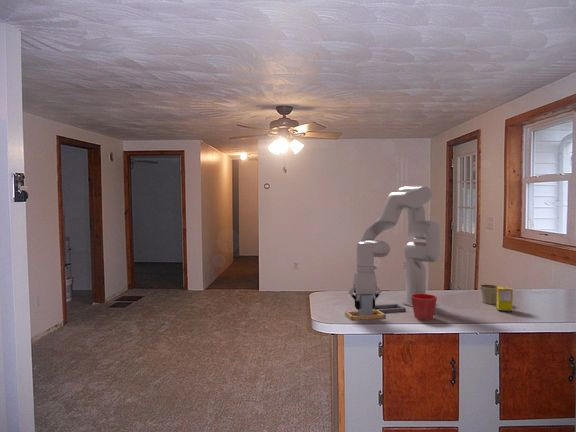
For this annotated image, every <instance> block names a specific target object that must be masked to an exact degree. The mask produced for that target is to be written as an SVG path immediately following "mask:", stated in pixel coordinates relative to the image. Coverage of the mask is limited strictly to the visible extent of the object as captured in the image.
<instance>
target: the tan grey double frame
mask: <svg viewBox="0 0 576 432" xmlns="http://www.w3.org/2000/svg"><path fill="white" fill-rule="evenodd" d="M395 307H396V308H395ZM375 308H378V309H375ZM406 310H407V309H406V307H405V306H403V305H400V304H399V303H391V304H390V303H388V304H375V307H374V309H373V315H360V316H358V315H355V314H358V310H350V311H348V310H347V311H346V310H345V311H344V316H345V317H347V318H348V319H349V320H351V321H355V320H356V321H357V320H358V321H359V320H360V319H361V320H372V319H373V320H375V319H376V318H377V319H386V314H387V313H386V312H388V313H401V312H404V313H405V312H406ZM374 313H377V314H374Z"/></svg>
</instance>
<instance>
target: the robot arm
mask: <svg viewBox="0 0 576 432" xmlns="http://www.w3.org/2000/svg"><path fill="white" fill-rule="evenodd" d="M431 199H432V190H431V188H430V187H429V186H427V185H406V186H402V187H399V188H398V189H397V191H393V192H391V193H389V194H388V195H387V198H386V200H385V203H384V204H383V207H382V209H381V213H380V215H379V217H378V218H377V220H375V221H374V222H373V223H372V224H371V225H370V226H369V227H368V228H366V229H365V231H364V232H363V236H362V237H361V239H360V241H359V242H357V243H356V271H355V272H354V274H353V275H354V276H353V281H352V282H353V283H352V288H351V289H350V290H348V292H347V294H349V296H350V297H352V299H353V300H354V308H355V309H356V311H358V310H359V309H360V301H359V298H360V295H366V294H369V295H373V309H374V307H375V305H376V301H377V299H378V297H379V296H380V295H381V293H383V291H382V290H381V288H379V287H378V286H377V285H378V283H377V282H378V281H377V276H376V272H375V270H377V269H378V268H377V266H375V258H385V257H387V256H388V255H389V253H390V250H391V248H390V247H391V246H390V245H389V243H388V242H386V241H383V240H376V238H377V237H378V236H379V235H380V234H381V233H384V232H385V231H387V230H388V231H389V230H390V229H392V228H394V227H396V225H397V224H398V221H399V218H400V216H401V213H402V211H403V210H406V211H407V235H408V237H409V238H411V239H414V240H424V241H425V242H424V241H414V240H413V241H409V242H407V243H406V244H405V245H404V249H403V252H404V259H405V299H402V303H403V304H404V305H406V306H409V307H410V306H411V307H413V305H412V299H411V295H413V294H426V287H427V285H426V283H427V281H426V278H427V277H426V274H427V271H426V265H425V264H424V262H425V263H436V262H437V261H438V260H439V258H440V255H441V254H440V253H441V229H440V228H441V227H440V225H439V224H438V222H437V221H434V220H426V209H425V206H424V205H426V204H427V203H429V202H430V200H431Z"/></svg>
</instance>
